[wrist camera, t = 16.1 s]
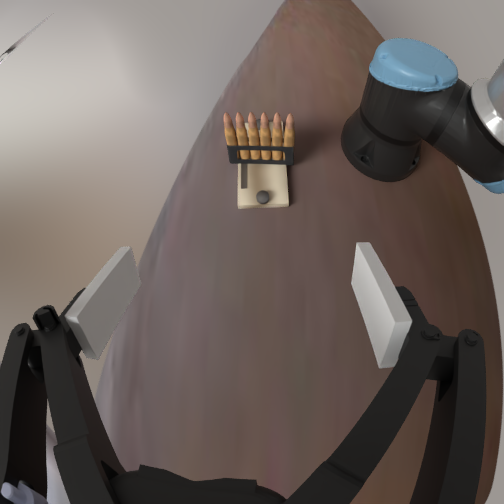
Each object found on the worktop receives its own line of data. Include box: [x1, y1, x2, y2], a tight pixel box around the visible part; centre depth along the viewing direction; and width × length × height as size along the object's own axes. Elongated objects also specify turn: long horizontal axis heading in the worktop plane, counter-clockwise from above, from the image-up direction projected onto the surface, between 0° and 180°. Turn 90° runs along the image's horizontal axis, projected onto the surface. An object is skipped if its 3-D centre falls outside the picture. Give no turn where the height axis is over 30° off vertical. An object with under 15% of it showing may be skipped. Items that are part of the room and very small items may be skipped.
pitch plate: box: [238, 119, 289, 209], centre depth 49 cm, size 8×17×2 cm, turn 1°
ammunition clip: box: [224, 112, 295, 165], centre depth 43 cm, size 11×2×12 cm, turn 86°
